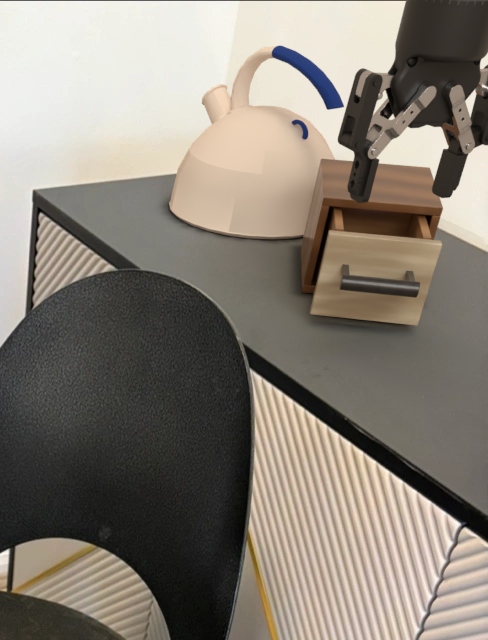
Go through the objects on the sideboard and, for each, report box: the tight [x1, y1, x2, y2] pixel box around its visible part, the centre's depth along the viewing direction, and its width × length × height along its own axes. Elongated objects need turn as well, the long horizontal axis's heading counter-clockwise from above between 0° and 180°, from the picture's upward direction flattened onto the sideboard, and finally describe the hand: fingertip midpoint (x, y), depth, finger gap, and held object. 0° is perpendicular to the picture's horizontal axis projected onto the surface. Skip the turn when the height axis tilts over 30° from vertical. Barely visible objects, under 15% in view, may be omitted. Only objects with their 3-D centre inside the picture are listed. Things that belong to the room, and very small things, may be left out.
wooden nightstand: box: [300, 159, 444, 295], centre depth 120 cm, size 15×12×10 cm
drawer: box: [309, 206, 443, 326], centre depth 111 cm, size 18×10×8 cm, turn 167°
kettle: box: [168, 45, 345, 240], centre depth 132 cm, size 20×21×18 cm
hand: (400, 198), depth 102 cm, fingers open, 8 cm apart
